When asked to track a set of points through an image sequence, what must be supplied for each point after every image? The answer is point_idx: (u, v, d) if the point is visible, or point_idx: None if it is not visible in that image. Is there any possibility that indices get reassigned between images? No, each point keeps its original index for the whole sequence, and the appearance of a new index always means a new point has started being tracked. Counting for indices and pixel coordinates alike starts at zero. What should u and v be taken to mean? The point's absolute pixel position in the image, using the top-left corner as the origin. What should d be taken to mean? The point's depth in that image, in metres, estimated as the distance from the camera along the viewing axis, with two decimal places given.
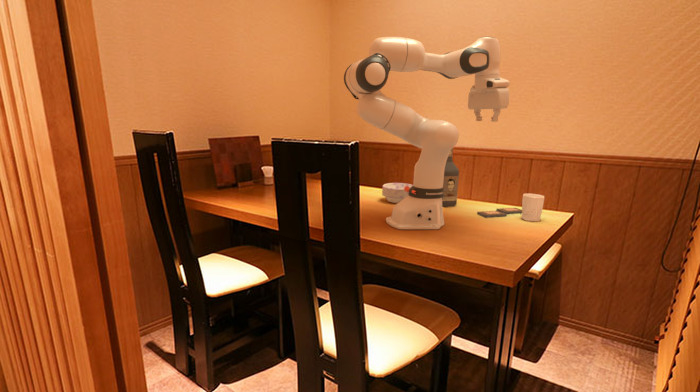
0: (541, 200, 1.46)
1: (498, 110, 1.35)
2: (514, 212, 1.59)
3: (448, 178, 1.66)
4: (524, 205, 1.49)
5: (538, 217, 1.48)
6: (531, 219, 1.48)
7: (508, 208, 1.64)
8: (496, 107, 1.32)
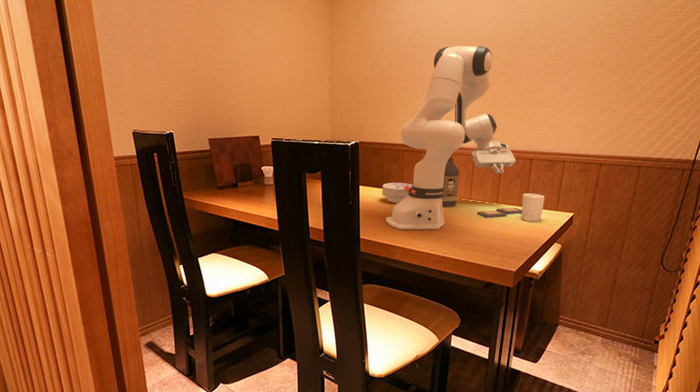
0: (541, 200, 1.46)
1: None
2: (514, 212, 1.59)
3: (448, 178, 1.66)
4: (524, 205, 1.49)
5: (538, 217, 1.48)
6: (531, 219, 1.48)
7: (508, 208, 1.64)
8: (512, 161, 1.71)
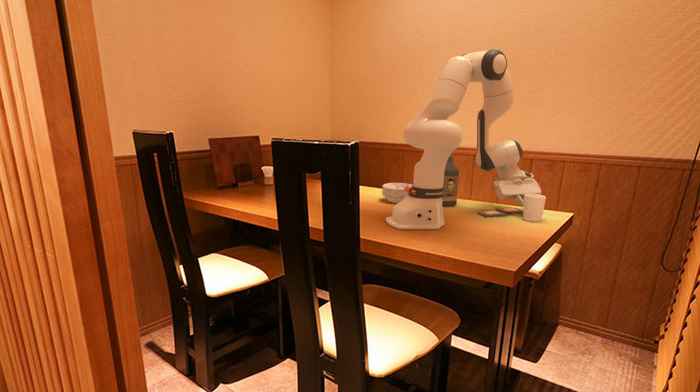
0: (542, 200, 1.45)
1: None
2: (514, 212, 1.59)
3: (448, 178, 1.66)
4: (525, 205, 1.48)
5: (539, 217, 1.47)
6: (532, 219, 1.47)
7: (508, 208, 1.64)
8: (538, 192, 1.57)
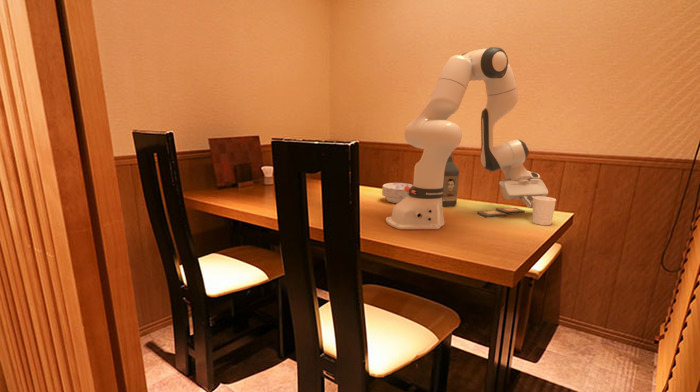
0: (553, 203, 1.41)
1: None
2: (514, 212, 1.59)
3: (448, 178, 1.66)
4: (535, 208, 1.44)
5: (550, 221, 1.43)
6: (543, 223, 1.43)
7: (508, 208, 1.64)
8: (545, 192, 1.53)
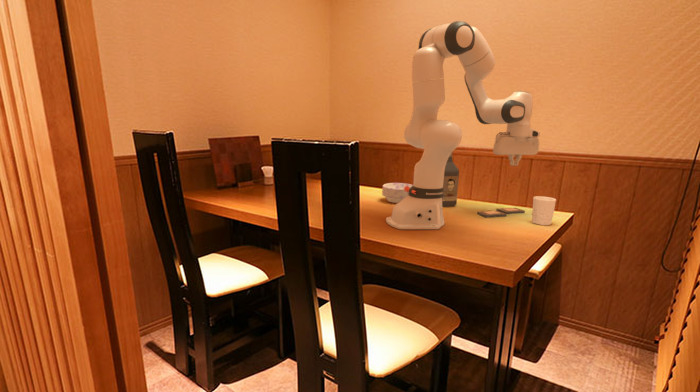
0: (553, 203, 1.41)
1: None
2: (514, 212, 1.59)
3: (448, 178, 1.66)
4: (535, 208, 1.44)
5: (550, 221, 1.43)
6: (543, 223, 1.43)
7: (508, 208, 1.64)
8: (534, 153, 1.56)
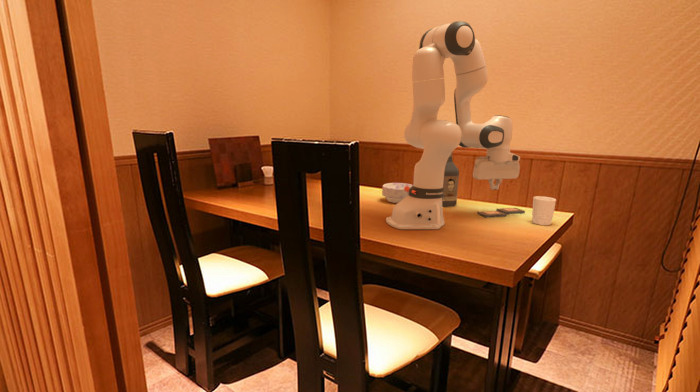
0: (553, 203, 1.41)
1: None
2: (514, 212, 1.59)
3: (448, 178, 1.66)
4: (535, 208, 1.44)
5: (550, 221, 1.43)
6: (543, 223, 1.43)
7: (508, 208, 1.64)
8: (514, 177, 1.53)
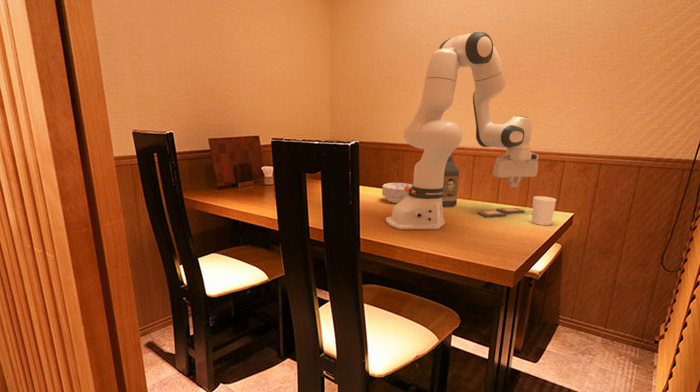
0: (553, 203, 1.41)
1: None
2: (514, 212, 1.59)
3: (448, 178, 1.66)
4: (535, 208, 1.44)
5: (550, 221, 1.43)
6: (543, 223, 1.43)
7: (508, 208, 1.64)
8: (532, 175, 1.60)
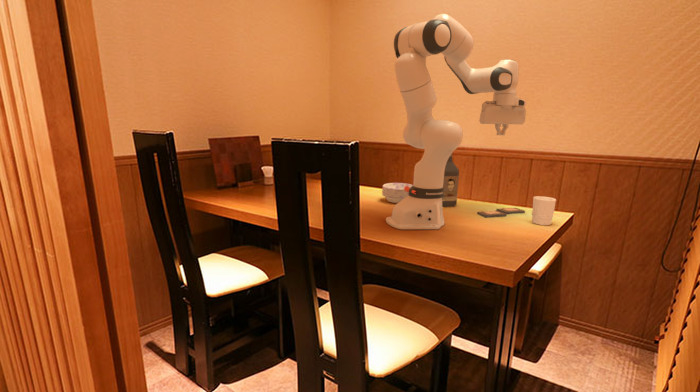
0: (553, 203, 1.41)
1: None
2: (514, 212, 1.59)
3: (448, 178, 1.66)
4: (535, 208, 1.44)
5: (550, 221, 1.43)
6: (543, 223, 1.43)
7: (508, 208, 1.64)
8: (520, 123, 1.56)
